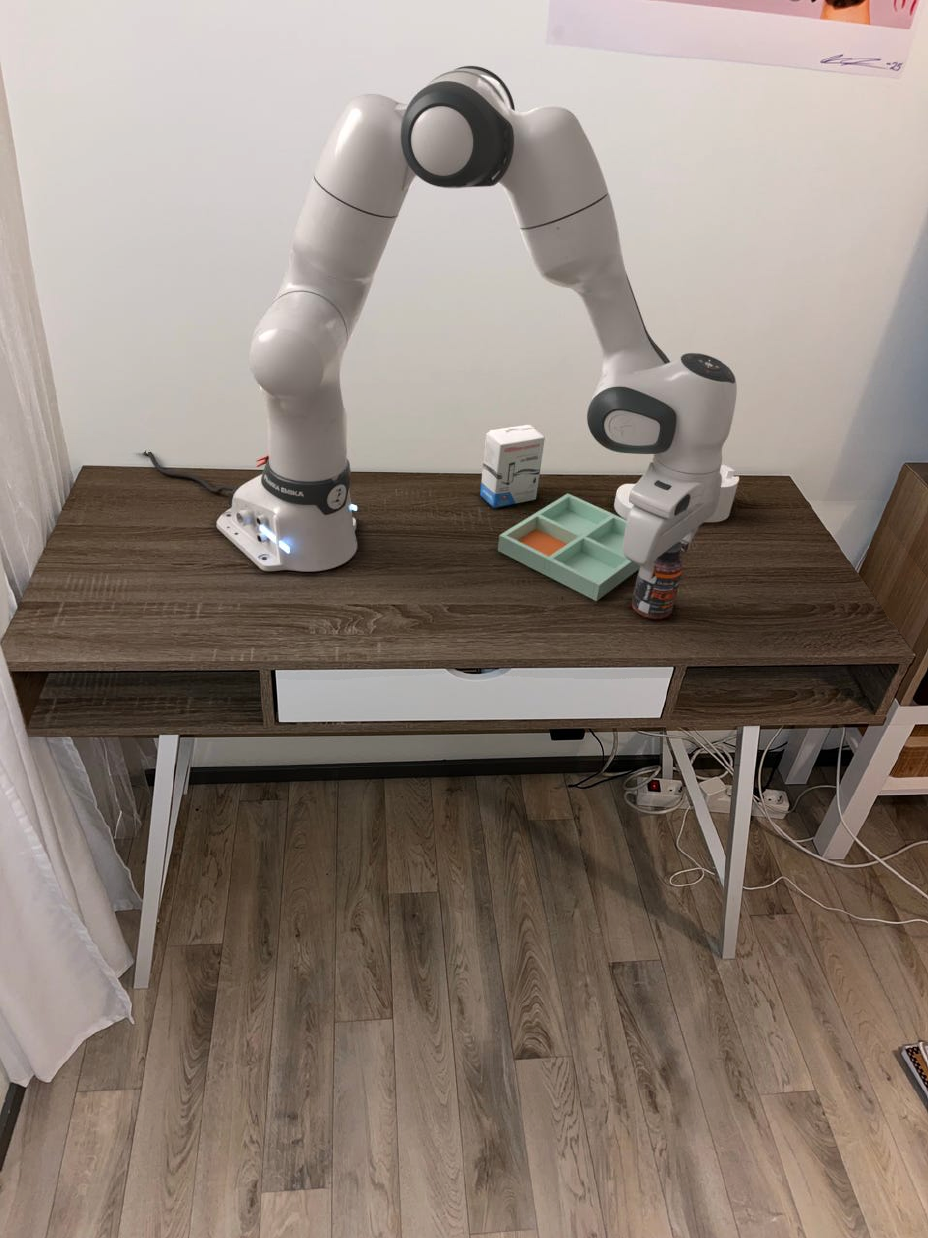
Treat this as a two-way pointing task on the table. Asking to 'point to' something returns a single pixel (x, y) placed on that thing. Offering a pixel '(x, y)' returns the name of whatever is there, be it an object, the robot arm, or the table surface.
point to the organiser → (572, 546)
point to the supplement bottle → (659, 586)
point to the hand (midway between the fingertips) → (664, 563)
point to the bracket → (720, 514)
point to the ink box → (511, 465)
